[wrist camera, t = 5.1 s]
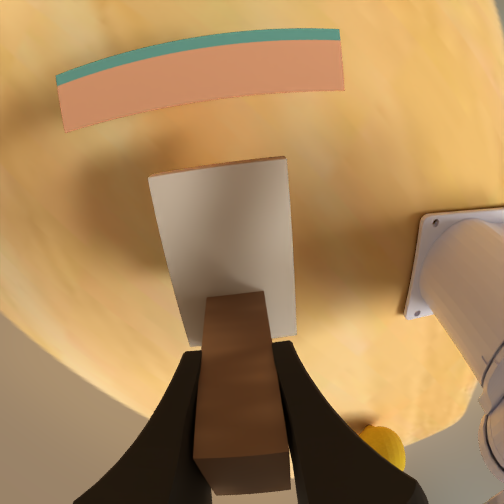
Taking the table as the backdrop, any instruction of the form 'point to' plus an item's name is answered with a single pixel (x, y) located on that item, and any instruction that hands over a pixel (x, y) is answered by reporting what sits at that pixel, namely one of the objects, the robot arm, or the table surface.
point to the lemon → (385, 444)
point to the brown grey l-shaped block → (233, 310)
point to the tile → (201, 73)
